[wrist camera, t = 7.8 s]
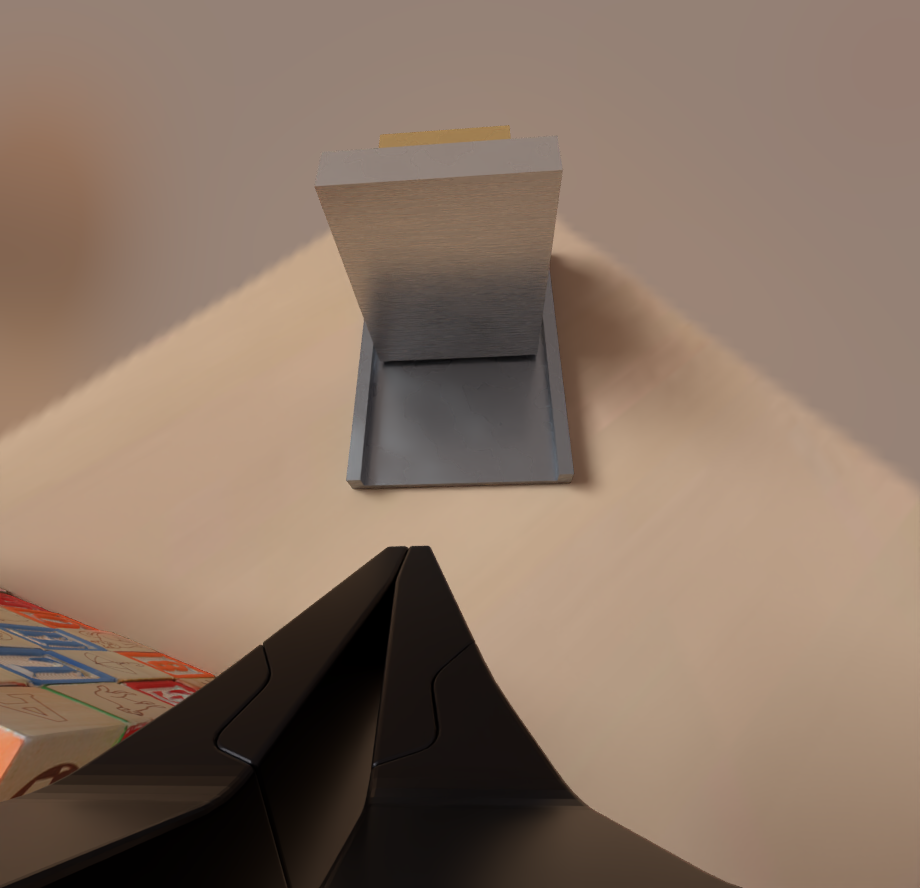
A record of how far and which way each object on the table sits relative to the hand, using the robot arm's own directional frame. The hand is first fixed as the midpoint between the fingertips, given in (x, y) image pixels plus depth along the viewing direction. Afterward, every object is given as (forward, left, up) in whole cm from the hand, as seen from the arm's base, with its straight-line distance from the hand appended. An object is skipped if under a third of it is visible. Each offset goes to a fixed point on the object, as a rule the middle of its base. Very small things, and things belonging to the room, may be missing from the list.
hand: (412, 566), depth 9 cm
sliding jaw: (+12, -9, -13) cm, 20 cm away
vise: (+12, -9, -13) cm, 20 cm away
